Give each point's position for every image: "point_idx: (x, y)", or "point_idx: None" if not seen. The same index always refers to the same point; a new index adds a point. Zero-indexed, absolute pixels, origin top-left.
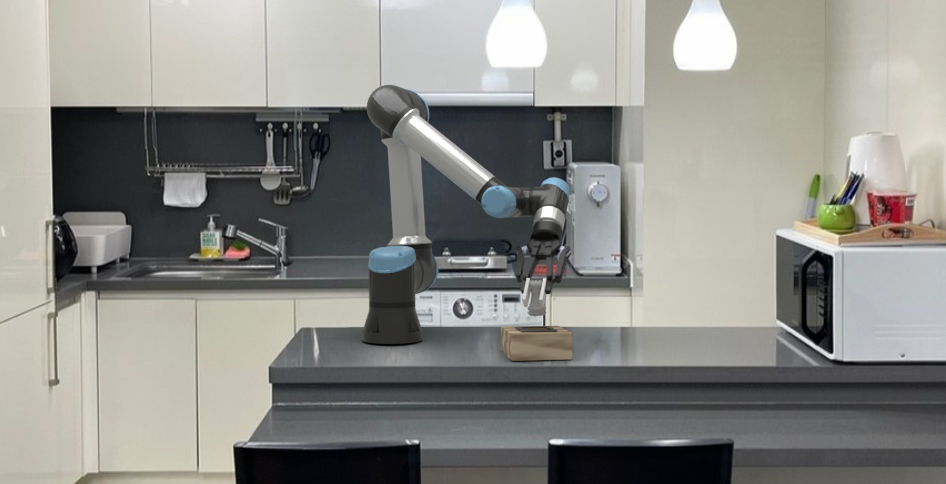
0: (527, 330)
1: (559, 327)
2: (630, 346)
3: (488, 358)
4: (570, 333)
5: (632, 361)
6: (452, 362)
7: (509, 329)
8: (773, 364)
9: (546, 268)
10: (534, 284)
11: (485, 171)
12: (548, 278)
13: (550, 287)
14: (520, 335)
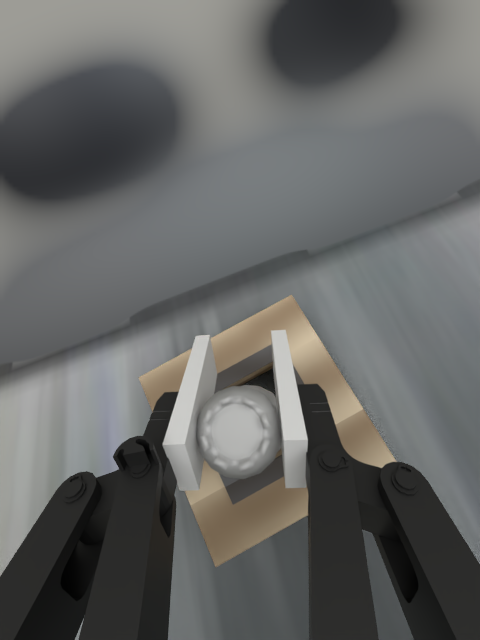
0: (267, 360)
1: (199, 508)
2: None
3: (351, 331)
4: (144, 374)
5: (42, 415)
6: (407, 265)
7: (339, 399)
8: None
9: (146, 568)
10: (239, 390)
11: None
12: (150, 452)
13: (154, 411)
14: (270, 307)
